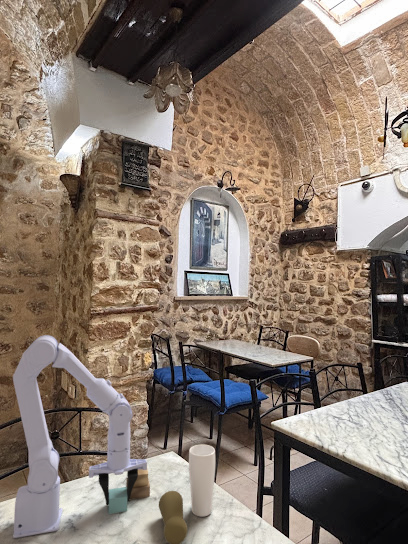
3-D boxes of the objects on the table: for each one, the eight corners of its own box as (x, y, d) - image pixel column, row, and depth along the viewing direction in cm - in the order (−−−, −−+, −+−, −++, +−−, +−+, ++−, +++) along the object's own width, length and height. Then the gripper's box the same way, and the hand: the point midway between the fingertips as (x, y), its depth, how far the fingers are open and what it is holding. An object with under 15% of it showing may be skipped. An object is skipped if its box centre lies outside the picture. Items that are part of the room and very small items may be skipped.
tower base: (127, 501, 89) (127, 489, 89) (126, 488, 95) (126, 477, 95) (149, 497, 91) (149, 486, 91) (147, 485, 97) (147, 474, 97)
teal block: (108, 514, 83) (109, 499, 84) (108, 503, 88) (108, 489, 88) (127, 510, 85) (127, 496, 85) (126, 500, 89) (126, 486, 89)
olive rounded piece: (175, 518, 83) (182, 554, 72) (154, 510, 82) (157, 545, 71) (187, 495, 84) (195, 527, 73) (165, 487, 83) (170, 518, 72)
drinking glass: (197, 523, 80) (198, 458, 81) (183, 508, 86) (184, 448, 87) (220, 513, 84) (220, 451, 85) (205, 499, 89) (205, 441, 90)
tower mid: (129, 487, 90) (129, 475, 91) (128, 477, 95) (129, 466, 95) (147, 485, 92) (148, 473, 92) (146, 475, 96) (146, 464, 97)
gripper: (88, 457, 81) (87, 516, 80) (148, 450, 85) (147, 505, 84) (90, 445, 88) (88, 498, 87) (145, 438, 92) (144, 490, 91)
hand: (117, 501), depth 86 cm, fingers closed on teal block, 4 cm apart
